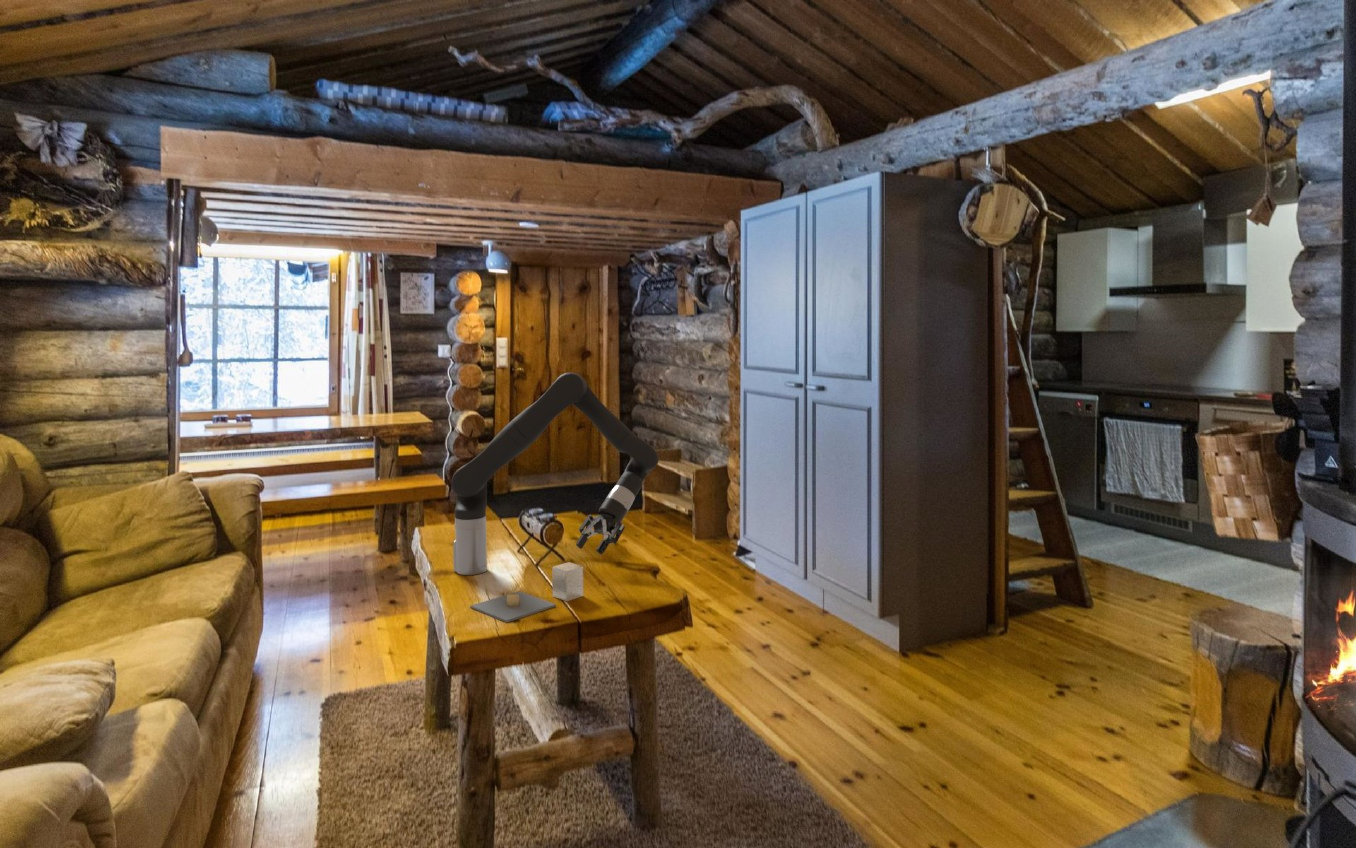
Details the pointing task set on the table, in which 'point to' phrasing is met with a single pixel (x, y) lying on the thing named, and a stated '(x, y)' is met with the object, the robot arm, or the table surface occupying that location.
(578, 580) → the block
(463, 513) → the robot arm
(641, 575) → the table surface
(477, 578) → the table surface
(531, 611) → the mat
